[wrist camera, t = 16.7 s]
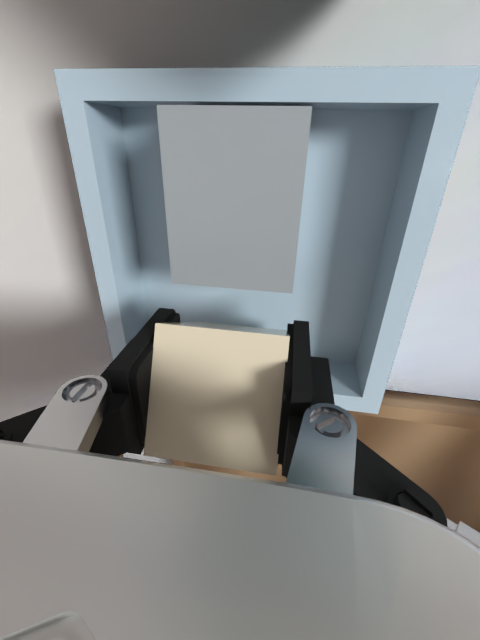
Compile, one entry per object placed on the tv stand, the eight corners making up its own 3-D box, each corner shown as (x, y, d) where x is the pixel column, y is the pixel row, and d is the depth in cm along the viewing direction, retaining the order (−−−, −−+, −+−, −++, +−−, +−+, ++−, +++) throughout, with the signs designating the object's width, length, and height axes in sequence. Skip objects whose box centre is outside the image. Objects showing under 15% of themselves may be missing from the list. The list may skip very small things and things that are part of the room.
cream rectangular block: (287, 330, 14) (289, 336, 9) (279, 421, 14) (276, 475, 9) (198, 321, 15) (155, 323, 10) (190, 409, 15) (143, 455, 10)
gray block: (312, 106, 8) (292, 293, 10) (309, 117, 11) (294, 255, 14) (156, 105, 9) (171, 283, 11) (198, 115, 12) (202, 249, 14)
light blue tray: (439, 83, 11) (482, 65, 8) (366, 372, 17) (377, 414, 14) (104, 83, 13) (53, 68, 10) (142, 346, 18) (116, 380, 16)
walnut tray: (564, 411, 16) (583, 429, 15) (475, 546, 22) (483, 566, 21) (170, 364, 19) (162, 377, 18) (183, 495, 24) (178, 511, 23)
